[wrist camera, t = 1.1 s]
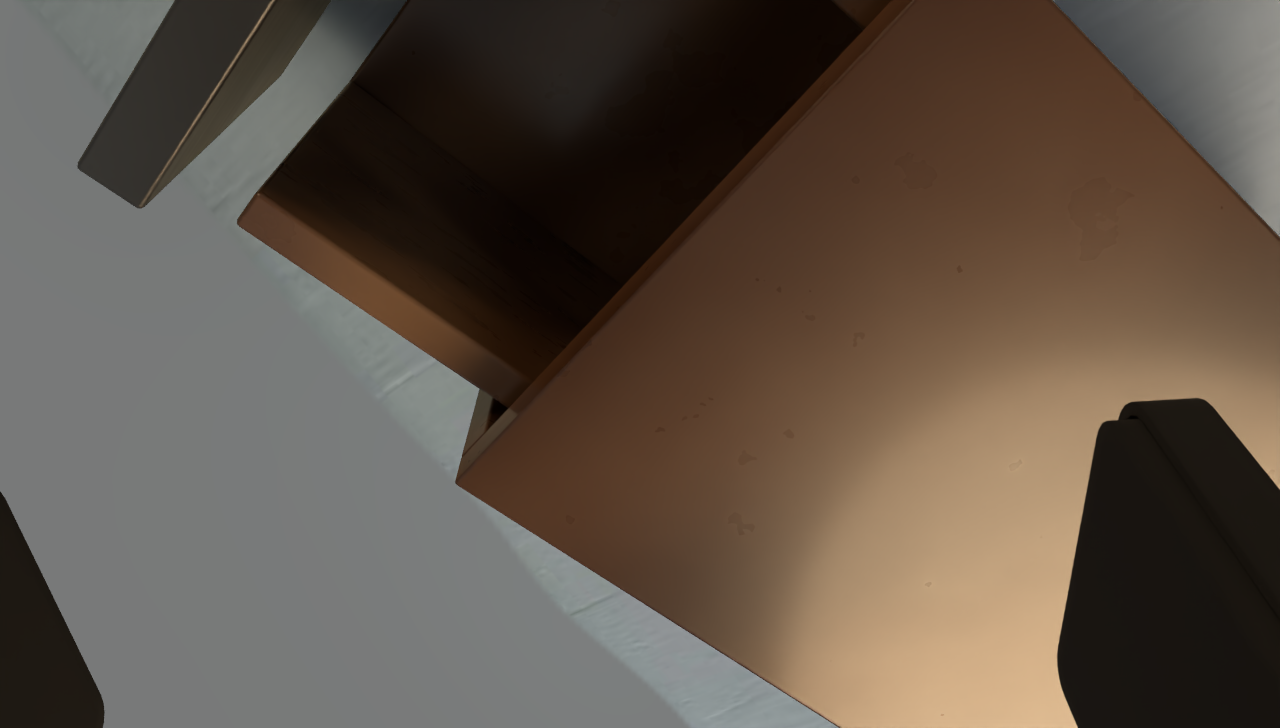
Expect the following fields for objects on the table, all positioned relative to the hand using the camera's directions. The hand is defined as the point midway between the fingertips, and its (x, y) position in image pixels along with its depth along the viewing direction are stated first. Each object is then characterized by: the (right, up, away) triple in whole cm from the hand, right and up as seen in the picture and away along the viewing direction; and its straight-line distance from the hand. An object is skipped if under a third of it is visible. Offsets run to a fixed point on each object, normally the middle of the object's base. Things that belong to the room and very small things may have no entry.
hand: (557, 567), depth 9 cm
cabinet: (+7, +5, +18) cm, 20 cm away
